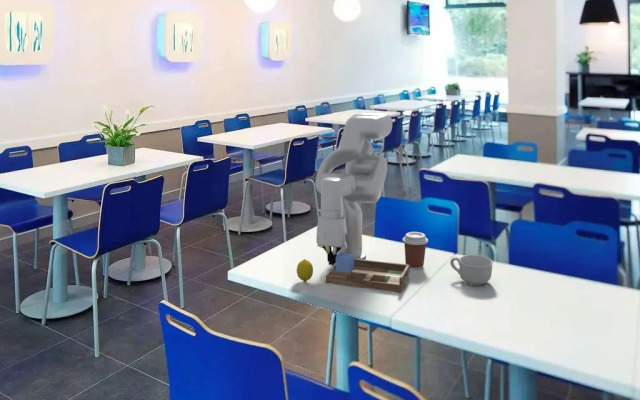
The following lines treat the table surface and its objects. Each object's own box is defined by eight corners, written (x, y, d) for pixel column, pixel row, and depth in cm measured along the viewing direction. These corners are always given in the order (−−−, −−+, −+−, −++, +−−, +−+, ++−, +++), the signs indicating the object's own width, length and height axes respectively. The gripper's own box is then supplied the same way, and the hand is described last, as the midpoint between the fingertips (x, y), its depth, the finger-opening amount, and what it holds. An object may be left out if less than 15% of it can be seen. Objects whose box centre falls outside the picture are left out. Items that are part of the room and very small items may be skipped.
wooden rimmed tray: (337, 270, 202) (337, 256, 201) (409, 278, 194) (409, 264, 192) (325, 283, 190) (325, 269, 189) (401, 292, 182) (401, 277, 181)
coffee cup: (432, 267, 204) (433, 235, 201) (414, 272, 199) (415, 240, 196) (414, 260, 211) (415, 229, 209) (396, 265, 206) (397, 233, 204)
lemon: (311, 285, 189) (310, 262, 187) (295, 284, 190) (294, 261, 188) (314, 279, 194) (314, 257, 192) (299, 278, 195) (298, 256, 193)
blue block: (340, 266, 199) (340, 252, 198) (354, 267, 197) (354, 254, 196) (335, 270, 194) (335, 257, 193) (349, 272, 193) (349, 258, 191)
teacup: (497, 281, 190) (498, 259, 188) (481, 291, 182) (483, 267, 180) (460, 272, 199) (461, 250, 197) (443, 280, 191) (444, 258, 190)
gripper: (307, 214, 193) (308, 265, 197) (349, 217, 188) (349, 269, 192) (315, 209, 200) (316, 258, 204) (356, 212, 195) (355, 262, 199)
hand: (332, 263), depth 198 cm, fingers closed
